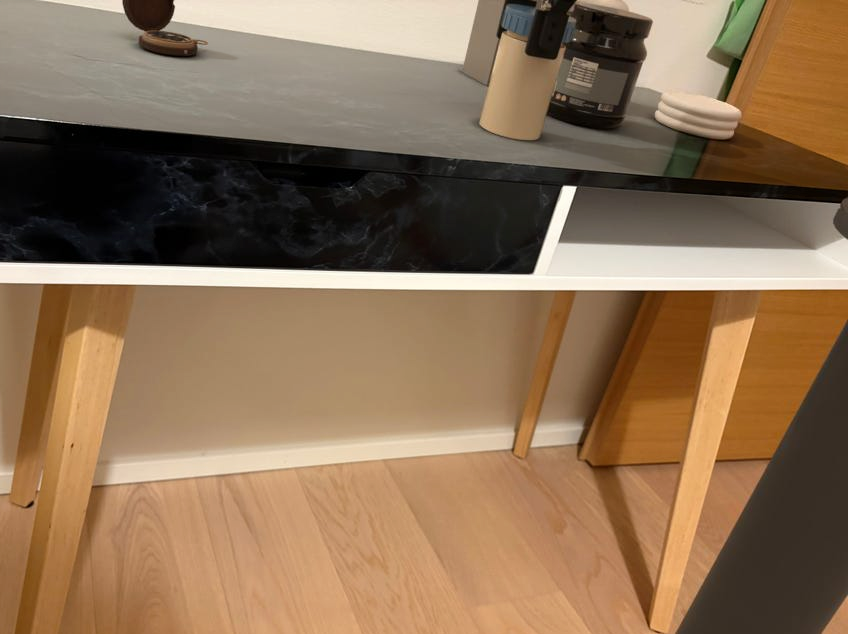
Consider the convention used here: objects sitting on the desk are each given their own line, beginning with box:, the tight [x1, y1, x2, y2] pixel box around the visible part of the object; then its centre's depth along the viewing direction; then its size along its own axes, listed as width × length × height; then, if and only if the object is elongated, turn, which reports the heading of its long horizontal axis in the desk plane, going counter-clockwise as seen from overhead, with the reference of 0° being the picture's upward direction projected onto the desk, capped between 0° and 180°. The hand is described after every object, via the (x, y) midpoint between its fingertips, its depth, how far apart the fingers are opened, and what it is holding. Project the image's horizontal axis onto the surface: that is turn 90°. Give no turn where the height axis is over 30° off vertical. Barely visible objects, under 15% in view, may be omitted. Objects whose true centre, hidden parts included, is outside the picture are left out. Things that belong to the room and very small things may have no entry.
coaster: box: [654, 90, 742, 141], centre depth 102 cm, size 10×10×4 cm
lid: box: [501, 4, 576, 43], centre depth 78 cm, size 7×7×2 cm
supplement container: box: [546, 1, 654, 130], centre depth 93 cm, size 10×10×12 cm
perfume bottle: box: [461, 0, 542, 86], centre depth 102 cm, size 7×7×18 cm
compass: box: [121, 0, 209, 57], centre depth 85 cm, size 8×8×7 cm
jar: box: [479, 30, 566, 141], centre depth 80 cm, size 6×6×11 cm
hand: (525, 47), depth 79 cm, fingers closed on lid, 6 cm apart
